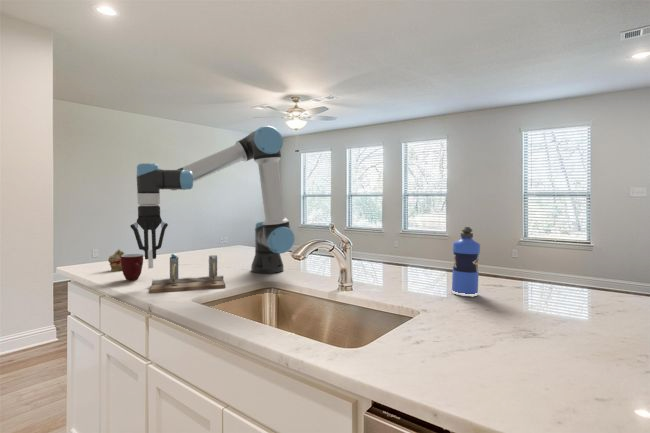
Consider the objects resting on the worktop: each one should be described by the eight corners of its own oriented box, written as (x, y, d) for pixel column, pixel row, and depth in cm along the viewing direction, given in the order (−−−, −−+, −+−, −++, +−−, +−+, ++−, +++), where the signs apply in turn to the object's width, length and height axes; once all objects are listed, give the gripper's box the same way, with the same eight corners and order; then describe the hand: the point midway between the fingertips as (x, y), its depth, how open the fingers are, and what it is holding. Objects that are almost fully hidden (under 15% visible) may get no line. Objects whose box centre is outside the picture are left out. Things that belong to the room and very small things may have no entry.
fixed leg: (216, 274, 147) (216, 255, 147) (218, 278, 140) (218, 258, 139) (208, 275, 146) (208, 255, 146) (209, 279, 139) (210, 258, 138)
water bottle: (478, 292, 137) (481, 226, 136) (477, 298, 129) (480, 228, 128) (452, 289, 141) (454, 225, 140) (450, 295, 133) (452, 227, 131)
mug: (150, 280, 148) (150, 256, 147) (129, 283, 141) (129, 258, 141) (137, 276, 154) (137, 253, 153) (117, 279, 148) (117, 255, 147)
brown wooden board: (222, 280, 149) (222, 274, 149) (225, 287, 138) (225, 280, 138) (153, 285, 140) (153, 278, 140) (150, 292, 129) (150, 285, 129)
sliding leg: (178, 276, 142) (178, 253, 141) (177, 281, 135) (177, 256, 134) (170, 277, 141) (170, 253, 140) (169, 281, 134) (169, 257, 133)
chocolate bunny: (113, 269, 169) (113, 247, 169) (130, 268, 170) (130, 247, 170) (107, 271, 164) (107, 249, 163) (125, 271, 165) (125, 249, 164)
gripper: (168, 204, 141) (170, 264, 143) (130, 205, 137) (133, 267, 138) (167, 205, 134) (169, 268, 136) (127, 205, 130) (130, 271, 131)
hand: (151, 267), depth 137 cm, fingers closed
